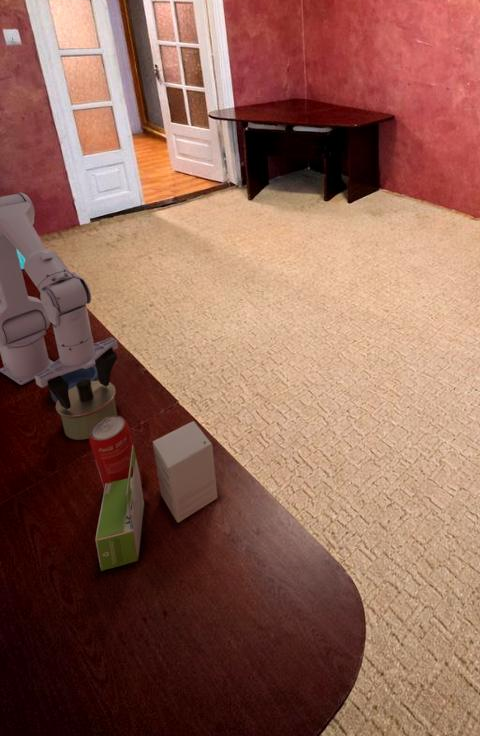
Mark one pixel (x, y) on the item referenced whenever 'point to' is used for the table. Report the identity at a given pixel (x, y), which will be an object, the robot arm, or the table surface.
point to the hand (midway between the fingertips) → (85, 394)
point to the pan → (78, 378)
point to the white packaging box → (185, 470)
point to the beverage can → (112, 449)
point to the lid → (87, 399)
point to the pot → (86, 422)
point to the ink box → (121, 520)
